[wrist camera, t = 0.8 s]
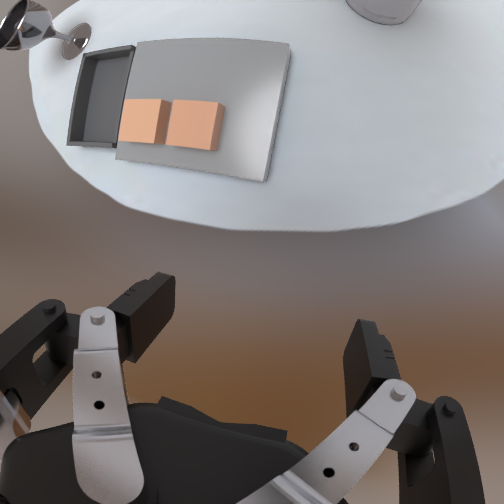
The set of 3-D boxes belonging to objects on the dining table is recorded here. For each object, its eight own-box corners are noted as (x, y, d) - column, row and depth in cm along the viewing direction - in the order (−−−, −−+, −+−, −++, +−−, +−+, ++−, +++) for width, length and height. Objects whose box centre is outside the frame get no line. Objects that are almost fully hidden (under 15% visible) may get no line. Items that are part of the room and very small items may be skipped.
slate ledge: (149, 48, 29) (137, 42, 26) (291, 53, 27) (289, 43, 24) (128, 158, 35) (115, 159, 32) (266, 180, 32) (262, 182, 30)
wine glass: (90, 13, 28) (28, -12, 14) (95, 42, 30) (26, 20, 16) (58, 40, 30) (-3, 25, 16) (62, 70, 32) (-6, 60, 18)
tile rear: (136, 102, 29) (124, 99, 27) (171, 102, 29) (161, 99, 26) (130, 141, 31) (118, 140, 28) (164, 144, 30) (153, 143, 28)
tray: (98, 58, 31) (83, 53, 27) (145, 51, 29) (131, 44, 26) (82, 144, 35) (66, 145, 32) (126, 147, 34) (111, 147, 31)
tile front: (183, 103, 28) (173, 99, 26) (225, 106, 28) (218, 102, 25) (175, 145, 30) (165, 144, 28) (217, 150, 29) (209, 150, 27)
